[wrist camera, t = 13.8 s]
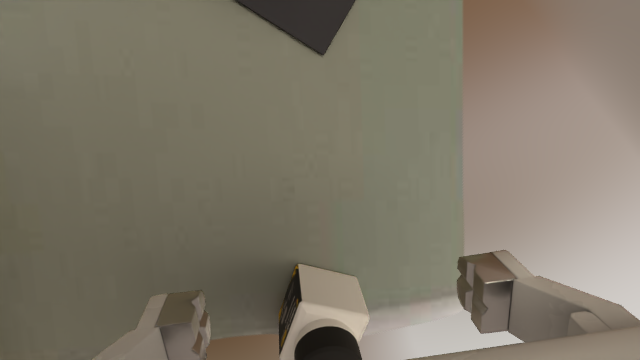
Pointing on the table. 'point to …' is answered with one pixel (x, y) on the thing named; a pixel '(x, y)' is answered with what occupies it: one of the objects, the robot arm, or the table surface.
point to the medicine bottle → (321, 316)
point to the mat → (304, 18)
